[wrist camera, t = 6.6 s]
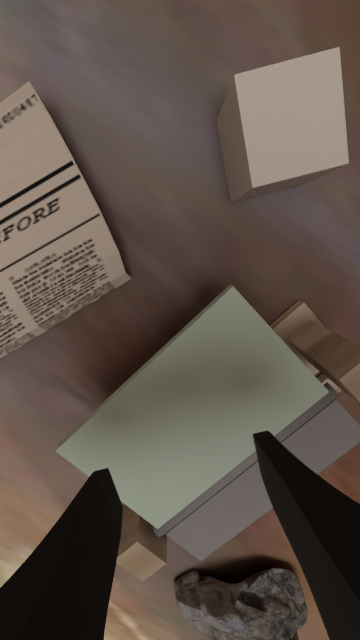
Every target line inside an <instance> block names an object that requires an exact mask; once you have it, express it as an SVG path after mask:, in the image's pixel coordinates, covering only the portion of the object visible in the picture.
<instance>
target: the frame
mask: <svg viewBox="0 0 360 640" xmlns="http://www.w3.org/2000/svg"><path fill="white" fill-rule="evenodd" d="M270 327H271V328H272V329H273V331H274V332H275V333H276V334H277V335H278V336H279V337H280V338H281V339H282V340H283V341H284V343H285V344H286V345H287V346H288V347H289V348H290V349H291V350H292V351H293V352H294V354H295V355H296V356H297V357H298V358H299V359H300V360H301V361H302V362H303V363H304V365H305V366H306V367H307V368H308V369H309V370H310V371H311V372H312V373H313V374H314V376H315V375H316V374H317V373H318V372H321V373H322V374H321V375H320V376H319V377H318V378H317V379H318V380H319V381H320V382H321V383H322V384H323V385H324V384H325V383H326V382H328V383H329V384H330V385H331V386H332V387H333V388H334V389H335V390H336V391H337V392H338V393H340V392H341V391H342V390H343V391H344V392H345V393H346V394H348V395H349V396H350V397H351V398H352V399H354V400H355V401H356V402H357V403H358V404H360V346H358V345H356V344H354V343H352V342H350V341H348V340H346V339H344V338H342V337H341V336H339V335H337V334H335V333H333V332H331V331H329V330H327V329H326V328H325V326H324V325H323V324H322V323H321V322H320V320H319V319H318V318H317V317H316V316H315V315H314V313H313V312H312V311H311V310H310V309H309V308H308V306H307V305H306V304H305V303H304V302H302V301H300V300H298V301H297V302H296V303H295V304H294V305H293V306H292V307H290V308H289V309H288V310H287V311H286V312H285V313H284V314H282V315H281V316H280V317H279V318H278V319H277V320H276V321H274V322H273V323H272V324H271V325H270ZM166 551H167V535H166V533H165V534H164V535H163V536H161V537H158V536H157V535H156V534H155V533H154V531H153V527H152V525H151V524H150V523H149V522H148V521H146V520H145V519H144V518H142V517H141V516H140V515H138V514H137V513H136V512H134V511H133V510H132V509H130V508H129V507H128V506H127V505H125V504H124V503H123V515H122V529H121V539H120V544H119V550H118V556H117V561H116V563H117V564H118V565H119V566H121V567H122V568H124V569H125V570H127V571H128V572H130V573H131V574H132V575H134V576H135V577H137V578H138V579H140V580H141V581H142V582H143V581H144V580H145V579H147V578H148V577H149V576H151V575H152V574H153V573H155V572H156V571H157V570H158V569H160V568H161V567H162V566H164V565H165V564H166Z"/></svg>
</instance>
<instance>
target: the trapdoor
mask: <svg viewBox="0 0 360 640" xmlns="http://www.w3.org/2000/svg"><path fill="white" fill-rule="evenodd" d="M338 396H340V394H339V393H338V392H337V391H336V390H335V389H334V388H333V387H332V386H331V385H330V384H329V383H328V382H326V383H325V384H324V385H323V384H322V383H321V382H320V381H319V380H318V379H317V378H316V377H315V376H314V374H313V373H312V372H311V371H310V370H309V369H308V368H307V367H306V366H305V365H304V363H303V362H302V361H301V360H300V359H299V358H298V357H297V356H296V355H295V354H294V352H293V351H292V350H291V349H290V348H289V347H288V346H287V345H286V344H285V343H284V341H283V340H282V339H281V338H280V337H279V336H278V335H277V334H276V333H275V332H274V331H273V329H272V328H271V327H270V326H269V325H268V324H267V323H266V322H265V321H264V320H263V318H262V317H261V316H260V315H259V314H258V313H257V312H256V311H255V310H254V309H253V307H252V306H251V305H250V304H249V303H248V302H247V301H246V300H245V299H244V298H243V296H242V295H241V294H240V293H239V292H238V291H237V290H236V289H235V288H234V287H233V286H232V285H229V286H228V287H227V288H226V289H225V290H224V291H223V292H221V293H220V294H219V295H218V296H217V297H216V298H215V299H214V300H213V301H212V302H211V303H210V304H209V305H207V306H206V307H205V308H204V309H203V310H202V311H201V312H200V313H199V314H198V315H197V316H196V317H195V318H193V319H192V320H191V321H190V322H189V323H188V324H187V325H186V326H185V327H184V328H183V329H182V330H181V331H179V332H178V333H177V334H176V335H175V336H174V337H173V338H172V339H171V340H170V341H169V342H168V343H167V344H165V345H164V346H163V347H162V348H161V349H160V350H159V351H158V352H157V353H156V354H155V355H154V356H153V357H151V358H150V359H149V360H148V361H147V362H146V363H145V364H144V365H143V366H142V367H141V368H140V369H139V370H138V371H136V372H135V373H134V374H133V375H132V376H131V377H130V378H129V379H128V380H127V381H126V382H125V383H124V384H122V385H121V386H120V387H119V388H118V389H117V390H116V391H115V392H114V393H113V394H112V395H111V396H110V397H108V398H107V399H106V400H105V401H104V402H103V403H102V404H101V405H100V406H99V407H98V408H97V409H96V410H94V411H93V412H92V413H91V414H90V415H89V416H88V417H87V418H86V419H85V420H84V421H83V422H82V423H80V424H79V425H78V426H77V427H76V428H75V429H74V430H73V431H72V432H71V433H70V434H69V435H68V436H66V437H65V438H64V439H63V440H62V441H61V442H60V443H59V445H58V447H57V449H56V452H57V453H58V454H60V455H61V456H62V457H64V458H65V459H66V460H68V461H69V462H70V463H72V464H73V465H74V466H75V467H77V468H78V469H79V470H81V471H82V472H83V473H85V474H86V475H87V476H89V477H90V476H91V474H92V473H93V472H94V471H97V470H101V469H105V468H109V471H110V474H111V476H112V479H113V482H114V484H115V487H116V490H117V492H118V495H119V498H120V501H121V502H123V503H124V504H125V505H127V506H128V507H129V508H130V509H132V510H133V511H134V512H136V513H137V514H138V515H140V516H141V517H142V518H144V519H145V520H146V521H148V522H149V523H150V524H151V525H152V527H153V531H154V533H155V534H156V535H157V536H158V537H161V536H163V535H164V534H165V533H166V535H167V536H168V537H170V538H171V539H172V540H173V541H175V542H176V543H177V544H179V545H180V546H181V547H183V548H184V549H185V550H187V551H188V552H189V553H190V554H192V555H193V556H194V557H196V558H197V559H198V560H200V561H202V560H204V559H205V558H206V557H208V556H209V555H210V554H212V553H213V552H214V551H216V550H217V549H218V548H220V547H221V546H222V545H224V544H225V543H226V542H227V541H229V540H230V539H231V538H233V537H234V536H235V535H237V534H238V533H239V532H241V531H242V530H243V529H245V528H246V527H247V526H249V525H250V524H251V523H253V522H254V521H255V520H257V519H258V518H259V517H261V516H262V515H263V514H265V513H266V512H267V511H269V510H270V509H271V508H273V506H272V504H271V502H270V499H269V496H268V493H267V491H266V488H265V485H264V482H263V479H262V477H261V473H260V468H259V463H258V458H257V453H256V449H255V444H254V439H253V434H254V433H259V432H263V431H267V430H268V431H269V432H271V433H272V434H273V435H274V436H275V438H276V439H277V440H278V441H279V442H280V443H282V444H283V445H284V446H285V447H286V448H287V449H288V450H289V451H290V452H291V453H292V454H293V455H294V456H296V457H297V458H298V459H299V460H300V461H301V462H303V463H304V464H305V465H306V466H307V467H309V468H310V469H311V470H312V471H314V472H315V473H316V474H318V473H319V472H321V471H322V470H323V469H325V468H326V467H327V466H329V465H330V464H331V463H333V462H334V461H335V460H337V459H338V458H339V457H341V456H342V455H343V454H345V453H346V452H347V451H349V450H350V449H351V448H353V447H354V446H355V445H357V444H358V443H359V442H360V425H359V424H358V423H357V422H356V421H355V420H354V418H353V417H352V416H351V415H350V414H349V413H348V412H347V411H346V410H345V409H344V408H343V406H342V405H341V404H340V403H339V402H338V401H337V400H336V398H337V397H338Z"/></svg>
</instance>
